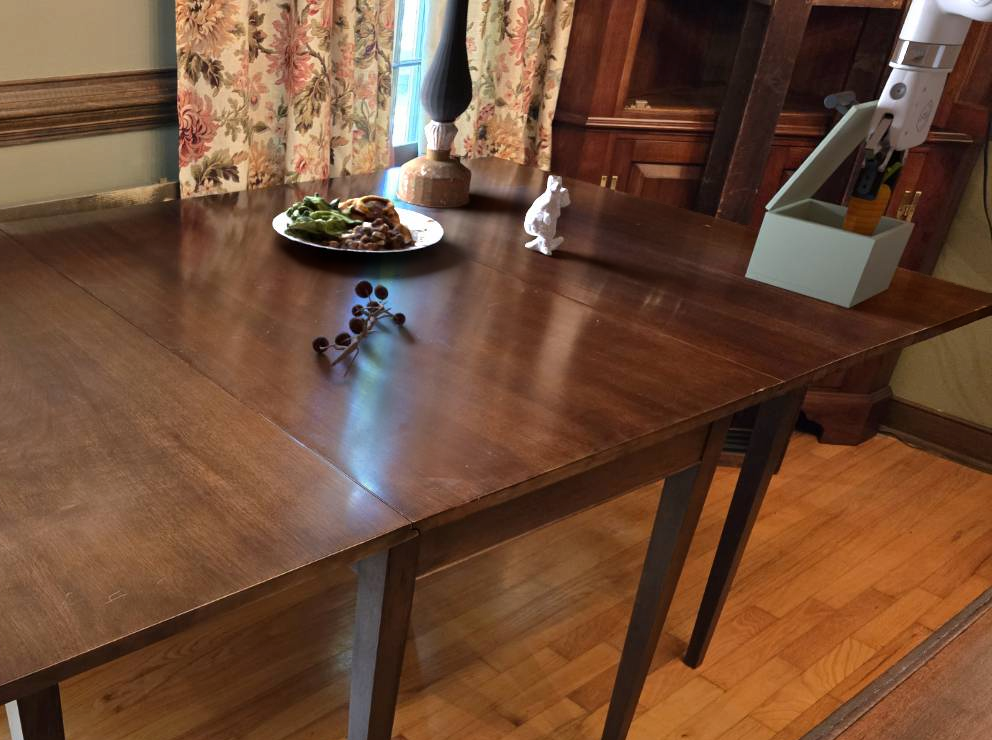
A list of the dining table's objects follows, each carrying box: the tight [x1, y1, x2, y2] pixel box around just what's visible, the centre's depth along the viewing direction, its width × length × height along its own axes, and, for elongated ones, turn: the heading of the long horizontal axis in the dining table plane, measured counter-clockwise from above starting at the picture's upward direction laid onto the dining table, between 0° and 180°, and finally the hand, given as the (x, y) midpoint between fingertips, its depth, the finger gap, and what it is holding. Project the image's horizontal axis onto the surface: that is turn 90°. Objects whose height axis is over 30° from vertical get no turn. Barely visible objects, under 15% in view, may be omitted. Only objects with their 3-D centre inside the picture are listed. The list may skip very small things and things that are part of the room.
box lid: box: [765, 90, 880, 211], centre depth 142 cm, size 17×14×6 cm
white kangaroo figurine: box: [524, 174, 571, 256], centre depth 154 cm, size 8×7×12 cm
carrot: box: [843, 162, 903, 237], centre depth 140 cm, size 5×5×15 cm
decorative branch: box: [311, 279, 407, 379], centre depth 122 cm, size 11×9×30 cm
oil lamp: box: [396, 0, 474, 209], centre depth 169 cm, size 14×15×40 cm
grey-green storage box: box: [744, 197, 916, 309], centre depth 146 cm, size 16×14×10 cm
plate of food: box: [272, 192, 444, 253], centre depth 157 cm, size 28×28×6 cm
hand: (871, 194), depth 139 cm, fingers closed on carrot, 5 cm apart
